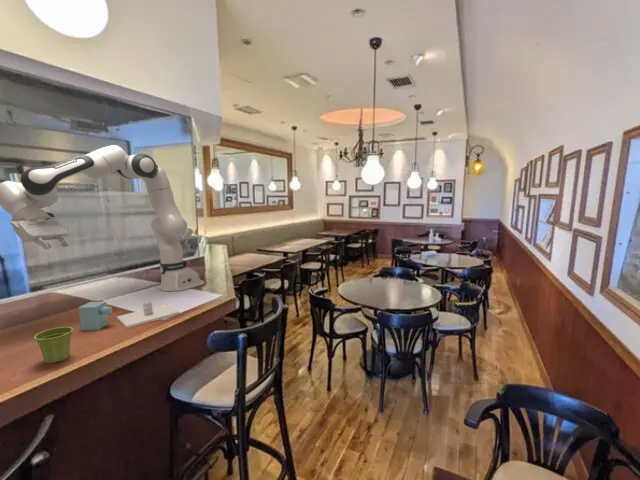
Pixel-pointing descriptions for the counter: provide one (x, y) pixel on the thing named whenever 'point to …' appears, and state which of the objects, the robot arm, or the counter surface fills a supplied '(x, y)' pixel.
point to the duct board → (147, 315)
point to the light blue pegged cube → (94, 315)
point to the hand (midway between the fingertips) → (57, 247)
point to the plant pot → (55, 343)
